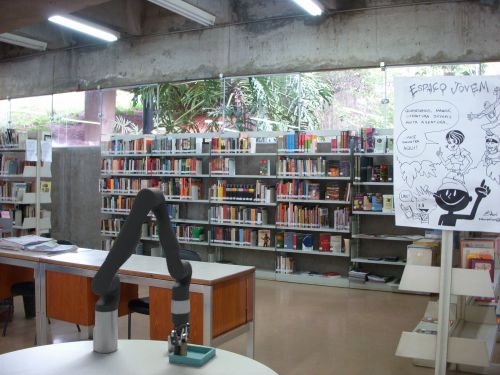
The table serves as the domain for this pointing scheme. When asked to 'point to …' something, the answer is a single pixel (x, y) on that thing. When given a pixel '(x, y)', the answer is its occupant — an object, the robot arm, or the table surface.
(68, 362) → the table surface
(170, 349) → the metal cylinder
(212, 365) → the table surface
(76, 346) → the table surface
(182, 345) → the walnut block
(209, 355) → the parts tray
